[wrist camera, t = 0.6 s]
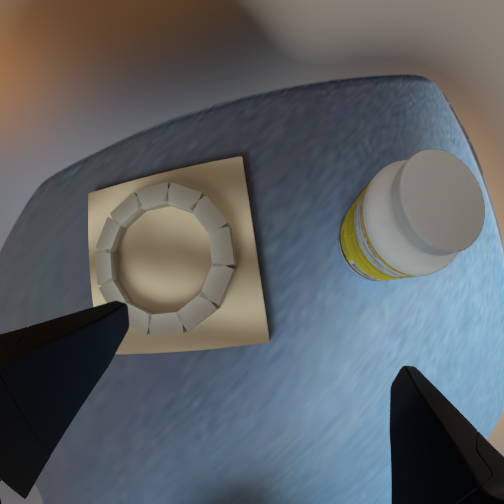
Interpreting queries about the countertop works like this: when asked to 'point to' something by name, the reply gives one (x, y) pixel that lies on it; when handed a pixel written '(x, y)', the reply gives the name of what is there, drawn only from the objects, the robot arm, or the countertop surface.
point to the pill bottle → (412, 218)
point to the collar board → (179, 259)
